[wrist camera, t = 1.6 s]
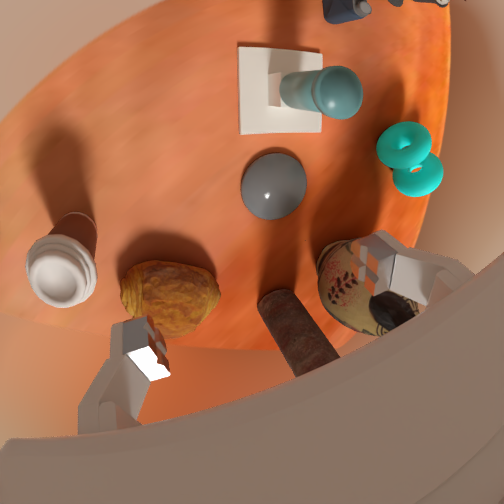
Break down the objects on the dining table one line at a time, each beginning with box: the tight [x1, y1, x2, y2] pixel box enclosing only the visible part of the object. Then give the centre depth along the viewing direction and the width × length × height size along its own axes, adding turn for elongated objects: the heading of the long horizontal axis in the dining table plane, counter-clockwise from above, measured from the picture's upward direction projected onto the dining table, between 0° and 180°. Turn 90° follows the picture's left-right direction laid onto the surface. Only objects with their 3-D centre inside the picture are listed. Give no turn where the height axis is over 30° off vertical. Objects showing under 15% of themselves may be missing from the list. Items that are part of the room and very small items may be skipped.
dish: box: [241, 153, 307, 220], centre depth 41 cm, size 10×10×1 cm
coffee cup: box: [25, 212, 98, 308], centre depth 29 cm, size 9×9×12 cm
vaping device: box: [323, 0, 372, 24], centre depth 24 cm, size 3×5×12 cm, turn 3°
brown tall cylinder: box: [257, 289, 340, 377], centre depth 45 cm, size 8×7×20 cm
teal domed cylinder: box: [279, 66, 363, 119], centre depth 26 cm, size 5×5×9 cm
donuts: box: [376, 121, 443, 197], centre depth 40 cm, size 10×10×10 cm
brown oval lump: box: [120, 260, 221, 339], centre depth 42 cm, size 14×16×8 cm
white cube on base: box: [237, 47, 322, 135], centre depth 32 cm, size 12×12×5 cm
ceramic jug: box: [305, 237, 420, 337], centre depth 40 cm, size 17×15×30 cm
